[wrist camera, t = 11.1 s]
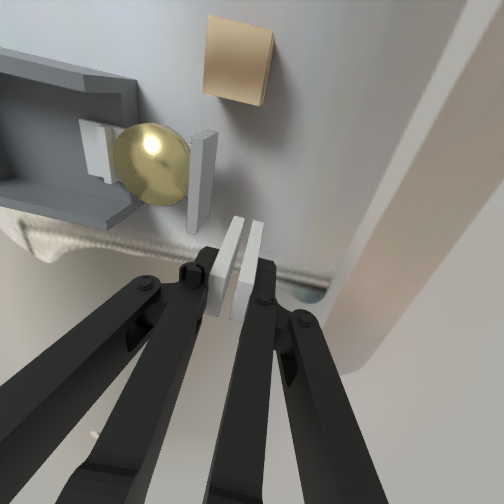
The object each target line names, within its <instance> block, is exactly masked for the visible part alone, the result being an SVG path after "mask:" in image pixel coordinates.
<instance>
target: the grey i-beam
mask: <svg viewBox="0 0 504 504" xmlns="http://www.w3.org/2000/svg"><path fill="white" fill-rule="evenodd" d="M79 125H80V130H81V136H82V141H83V147H84V152H85V158H86V163H87V169H88V174H90V175H94V176H99V177H103V178H104V183H109V184H113V183H115V182H117V181H120V182H122V181H121V179H120V177H119V176H118V173H117V171H116V168H115V164H114V157H113V152H114V146H115V143H116V140H117V138H118V136H119V135H120V134H121V133H122V132H123V131H124V130H125V129H127V128H123V127H119V126H114V125H110V124H106V123H102V122H97V121H93V120H89V119H85V118H80V119H79ZM217 141H218V132H217V131H212V130H207V131H204V132H202V133H200V134H197V135H195V136H193V137H191V143H187V145H188V146H189V148H190V150H191V152H190V172H189V191H188V193H187V194H186V195H185V197H188V210H187V229H186V233H190V234H194V235H196V234H197V233H198V231H199V229H200V228H201V226H202V225H203V223H204V222H205V220H206V218H207V217H208V215H209V214H210V205H211V196H212V187H213V178H214V168H215V159H216V150H217Z"/></svg>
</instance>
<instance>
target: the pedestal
mask: <svg viewBox="0 0 504 504" xmlns="http://www.w3.org/2000/svg"><path fill="white" fill-rule="evenodd" d="M274 45H275V39H274V34H273V30H270V29H266V28H262V27H258V26H254V25H250V24H245V23H241V22H237V21H233V20H229V19H225V18H221V17H217V16H213V15H209V14H208V22H207V36H206V50H205V65H204V79H203V93H206V94H210V95H214V96H218V97H222V98H226V99H231V100H235V101H239V102H243V103H247V104H252V105H256V106H261V105H263V103H264V97H265V92H266V87H267V82H268V77H269V71H270V66H271V61H272V56H273V51H274Z"/></svg>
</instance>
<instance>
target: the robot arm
mask: <svg viewBox="0 0 504 504" xmlns="http://www.w3.org/2000/svg"><path fill="white" fill-rule="evenodd" d="M244 220H245V218H242V217H238V216H234V217H233V220H232V222H231V224H230V227H229V229H228V232H227V234H226V236H225V239H224V241H223V243H222V246H221V248H220V249H216V248H212V247H207V246H206V247H204V248H203V249H201V250H200V252H199V253H198V255H197V257H196V259H195V261H194V262H188V263H185V264H183V265H182V266H181V267H180V269H179V270H180V271H179V282H176V283H163V284H162V283H161V282H160V280H159V279H158V278H156V277H155V276H150V275H143V276H139V277H137V278H135V279H133V280H132V281H131V282H129V283H128V284H127V285H126V286H125V287H123V288H122V289H121V290H120V291H118V292H117V293H116V294H114V295H113V296H112V297H111V298H110V299H108V300H107V301H106V302H105V303H104V304H102V305H101V306H100V307H98V308H97V309H96V310H95V311H93V312H92V313H91V314H90V315H89V316H87V317H86V318H85V319H83V321H81V322H80V323H79V324H77V325H76V326H75V327H74V328H72V329H71V330H70V331H69V332H68V333H66V334H65V335H64V336H62V337H61V338H60V339H59V340H57V341H56V342H55V343H54V344H52V345H51V346H50V347H49V348H47V349H46V350H45V351H44V352H42V353H41V354H40V355H39V356H38V357H36V358H35V359H34V360H33V361H31V362H30V363H29V364H28V365H26V366H25V367H24V368H23V369H21V370H20V371H19V372H18V373H16V374H15V375H14V376H13V377H11V378H10V379H9V380H8V381H7V382H5V383H4V384H3V385H1V386H0V504H9V503H10V502H11V501H12V500H13V498H14V497H15V496H16V495H17V493H18V492H19V491H20V490H21V489H22V488H23V487H24V485H25V484H26V483H27V482H28V481H29V480H30V478H31V477H32V476H33V475H34V474H35V472H36V471H37V470H38V469H39V468H40V467H41V465H42V464H43V463H44V462H45V461H46V460H47V458H48V457H49V456H50V455H51V454H52V453H53V451H54V450H55V449H56V448H57V447H58V445H59V444H60V443H61V442H62V441H63V440H64V438H65V437H66V436H67V435H68V434H69V432H70V431H71V430H72V429H73V428H74V427H75V425H76V424H77V423H78V422H79V421H80V419H81V418H82V417H83V416H84V415H85V414H86V412H87V411H88V410H89V409H90V408H91V407H92V405H93V404H94V403H95V402H96V401H97V399H98V398H99V397H100V396H101V395H102V393H103V392H104V391H105V390H106V389H107V388H108V387H109V385H110V384H111V383H112V382H113V381H114V379H115V378H116V377H117V376H118V375H119V374H120V372H121V371H122V370H123V369H124V368H125V367H126V365H127V364H128V363H129V362H130V361H131V359H132V358H133V357H134V356H135V355H136V354H137V352H138V351H139V350H140V349H141V348H142V347H143V345H144V344H145V343H146V342H147V341H148V342H147V344H146V347H145V348H144V350H143V352H142V354H141V356H140V358H139V360H138V362H137V364H136V366H135V368H134V370H133V372H132V373H131V376H130V378H129V380H128V381H127V383H126V385H125V387H124V389H123V391H122V393H121V395H120V397H119V399H118V401H117V403H116V405H115V407H114V408H113V411H112V412H111V414H110V416H109V418H108V420H107V422H106V424H105V426H104V428H103V430H102V432H101V434H100V436H99V438H98V440H97V442H96V444H95V446H94V447H93V449H92V451H91V453H90V455H89V456H88V458H87V459H86V460H85V462H83V463H82V464H81V465H80V466H79V467H77V469H76V470H75V471H74V473H73V474H72V475H71V476H70V478H69V479H68V482H67V483H66V485H65V486H64V488H63V490H62V491H61V493H60V495H59V497H58V499H57V501H56V503H55V504H144V502H145V498H146V494H147V491H148V488H149V484H150V481H151V478H152V475H153V472H154V469H155V466H156V463H157V460H158V457H159V453H160V450H161V447H162V444H163V441H164V438H165V435H166V432H167V428H168V425H169V422H170V419H171V416H172V413H173V410H174V407H175V404H176V401H177V397H178V394H179V391H180V388H181V385H182V382H183V379H184V376H185V373H186V370H187V366H188V363H189V360H190V357H191V354H192V351H193V348H194V344H195V342H196V339H197V335H198V332H199V329H200V326H201V323H202V316H203V313H204V310H205V313H204V314H207V315H212V316H216V317H219V313H220V310H221V307H222V303H223V300H224V297H225V293H226V290H227V287H228V283H229V280H230V277H231V273H232V270H233V267H234V263H235V260H236V257H237V253H238V250H239V245H240V240H241V235H242V230H243V225H244ZM263 225H264V222H259V221H255V220H253V223H252V227H251V231H250V235H249V239H248V243H247V247H246V251H245V255H244V259H243V263H242V267H241V271H240V275H239V279H238V283H237V287H236V292H235V297H234V301H233V306H232V310H231V315H230V320H234V321H238V322H242V323H243V327H242V330H241V334H240V338H239V343H238V348H237V352H236V357H235V361H234V366H233V370H232V374H231V379H230V383H229V388H228V392H227V397H226V401H225V405H224V410H223V414H222V419H221V423H220V428H219V432H218V437H217V441H216V445H215V450H214V455H213V459H212V463H211V468H210V472H209V477H208V481H207V485H206V490H205V494H204V499H203V503H202V504H263V501H262V484H263V471H264V459H265V447H266V435H267V423H268V410H269V398H270V385H271V373H272V372H271V371H272V361H273V349H274V350H275V351H276V353H277V359H278V364H279V369H280V375H281V380H282V385H283V391H284V396H285V401H286V406H287V412H288V417H289V422H290V428H291V433H292V439H293V444H294V449H295V454H296V460H297V465H298V470H299V476H300V481H301V486H302V492H303V497H304V502H305V504H389V503H388V501H387V498H386V495H385V493H384V490H383V488H382V485H381V483H380V480H379V477H378V475H377V473H376V470H375V467H374V465H373V462H372V459H371V457H370V455H369V452H368V449H367V446H366V444H365V441H364V439H363V436H362V433H361V431H360V429H359V426H358V423H357V421H356V418H355V415H354V413H353V410H352V408H351V405H350V402H349V400H348V397H347V395H346V392H345V390H344V387H343V384H342V382H341V379H340V377H339V374H338V372H337V369H336V366H335V364H334V361H333V359H332V356H331V353H330V351H329V348H328V346H327V343H326V341H325V338H324V335H323V333H322V330H321V328H320V326H319V322H318V320H317V319H316V317H315V316H314V315H313V314H312V313H310V312H308V311H307V310H303V309H297V310H295V311H293V312H290V311H288V310H286V309H285V308H283V307H282V306H280V305H279V304H278V302H277V300H276V298H275V288H276V265H275V263H274V261H271V260H266V259H262V258H258V256H259V250H260V244H261V237H262V231H263ZM149 338H150V339H149Z"/></svg>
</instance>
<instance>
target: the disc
mask: <svg viewBox="0 0 504 504" xmlns="http://www.w3.org/2000/svg"><path fill="white" fill-rule="evenodd" d="M190 152H191V150H190V148H189V146H188V145H187V143H186V142H185V141H184V139H183V138H182V137H181V136H180V135H179V134H178V133H176V132H175V131H174V130H172V129H171V128H169V127H167V126H165V125H162V124H158V123H143V124H138V125H133V126H130V127H128V128H127V129H125V130H124V131H123V132H122V133H121V134H120V135H119V136H118V138H117V140H116V143H115V146H114V152H113V157H114V164H115V168H116V171H117V173H118V176H119V177H120V179H121V181H122V182H123V184H124V185H125V187H126V188H127V189H128V190H129V191H130V192H131V193H132V194H133V195H135V196H136V197H137V198H139V199H140V200H142V201H144V202H146V203H149V204H152V205H157V206H168V205H172V204H174V203H177V202H178V201H180V200H181V199H182V198H183V197H184V196H185V195H186V194H187V193H188V191H189V172H190Z"/></svg>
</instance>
